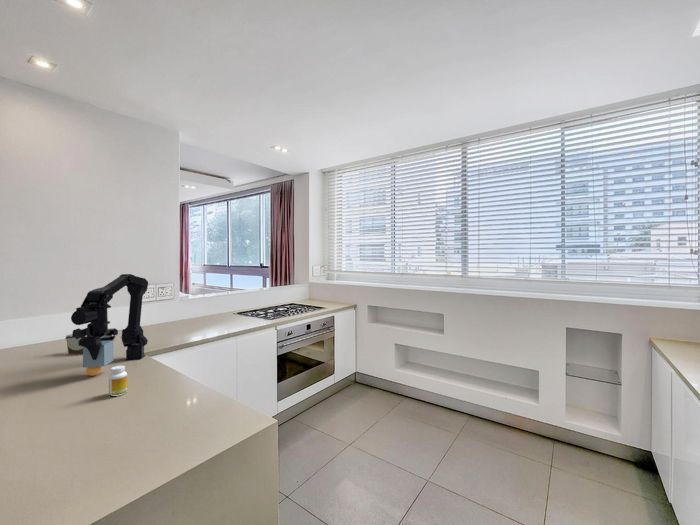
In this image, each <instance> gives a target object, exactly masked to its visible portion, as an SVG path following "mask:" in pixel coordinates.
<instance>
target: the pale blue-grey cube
mask: <svg viewBox="0 0 700 525" xmlns="http://www.w3.org/2000/svg"><path fill="white" fill-rule="evenodd" d="M100 343H102V345H101V348H100V351H99V354H98V357H97V359H96V360H93V359H92V357H91V355H90V352H89V350H88V349H87V348H85V347H83V355H82V368H87V367H97V366H101V367H105V366H107V365H108V364H110V363H111V362H113V361H114V340H108V341H101V342H100Z"/></svg>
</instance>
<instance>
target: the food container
mask: <svg viewBox="0 0 700 525" xmlns="http://www.w3.org/2000/svg"><path fill="white" fill-rule="evenodd" d="M84 337H87V335H86V336H84ZM84 337H82V338H84ZM80 339H81V338H79V339H77V340H76V338H74V337H72V333H71V334H66V336H65V340H66V346H67V354H68V355H70V354H83V347H82V346H78V341H79V340H80Z"/></svg>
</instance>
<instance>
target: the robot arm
mask: <svg viewBox="0 0 700 525" xmlns="http://www.w3.org/2000/svg"><path fill="white" fill-rule="evenodd" d="M148 285H149V281H148V280H147V279H146V278H145V277H140V276H136V275H134V274H131V273H122V274H120V275H119V276H118V277H116V278H115V279H113V280H112V281H111V282H108V283H107V284H106V285H104V286H102V287H97V288H95V289H92V290H89V291H88V292H87V294H86V296H85V298H84V299H83V301H82V303H81V305H80V306H79V307H76V308H75V311H73V313H72V315H71V316H70V320H71V322H72V324H74V325H76V326H81V325H85V324H87V325H86V327H85V328H78V327H77V328H76V329H73V330H72V333H71V334H72V337H74V338H76V340H77V339H79V338H81V339H80V340H79V341H78V346H82V347H85V348H87V349H88V350H89V352H90V355H91V357H92V359H93V360H96V359H97V357H98V354H99V351H100V348H101V345H102V343H100V342H101V341H108V340H113V341H114V340H115V338H116V337H117V336H118V335H119V330H118V329H117V328H116V327H115V328H109V327H108V326H109V324H111V321H110V320H108V317H109V316H108V309H111V308H112V306H111V305H110V304H109V302H110V301H112V299H113V298H114V294H116V293H117V292H118V291H120V290H122V289H123V288H124V287H126V289H127V292H128V294H129V296H130V299H129V310H128V317H127V318H128V320H127V326H126V327H125V328H124V329H122V330H121V336H120V338H121V342H122V345H123V347H124V348H126V350H125V360H126V361H130V360H131V361H132V360H133V361H134V359H135V360H142V359H143V358H144V357H146V354H145V346H146V345H148V342H149V341H148V338H147V337H146V336H145V335H144V329H143V327H142V326H141V317H142V305H143V296H144V295H145V294H146V292H147V291H148V287H149V286H148ZM86 335H87V337H84V336H86ZM82 337H84V338H82Z"/></svg>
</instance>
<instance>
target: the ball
mask: <svg viewBox="0 0 700 525" xmlns="http://www.w3.org/2000/svg"><path fill="white" fill-rule="evenodd" d="M85 368H86V369H85V373H86V375H88V376H90V377H94V376H97V375H98V374H100V373H101V371H102V366H97V367H85Z"/></svg>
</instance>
